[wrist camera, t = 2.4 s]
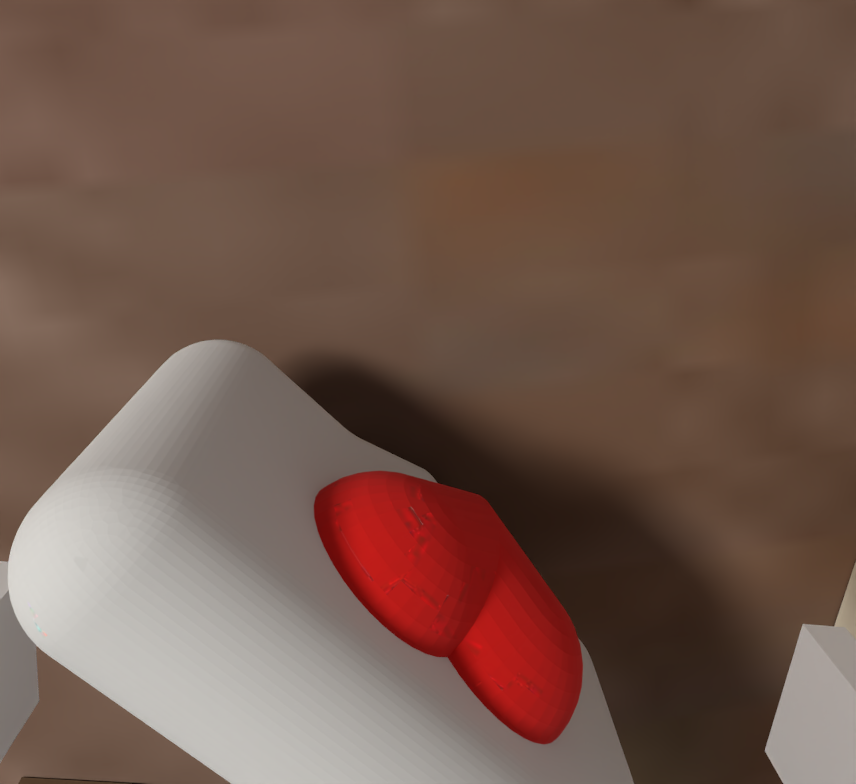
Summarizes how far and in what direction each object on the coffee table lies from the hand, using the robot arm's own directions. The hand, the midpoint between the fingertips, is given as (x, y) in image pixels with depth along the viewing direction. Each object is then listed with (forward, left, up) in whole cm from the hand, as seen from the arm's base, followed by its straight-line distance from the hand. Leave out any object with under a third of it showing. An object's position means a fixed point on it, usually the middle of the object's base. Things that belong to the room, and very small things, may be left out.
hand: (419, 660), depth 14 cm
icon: (0, 0, -7) cm, 7 cm away
